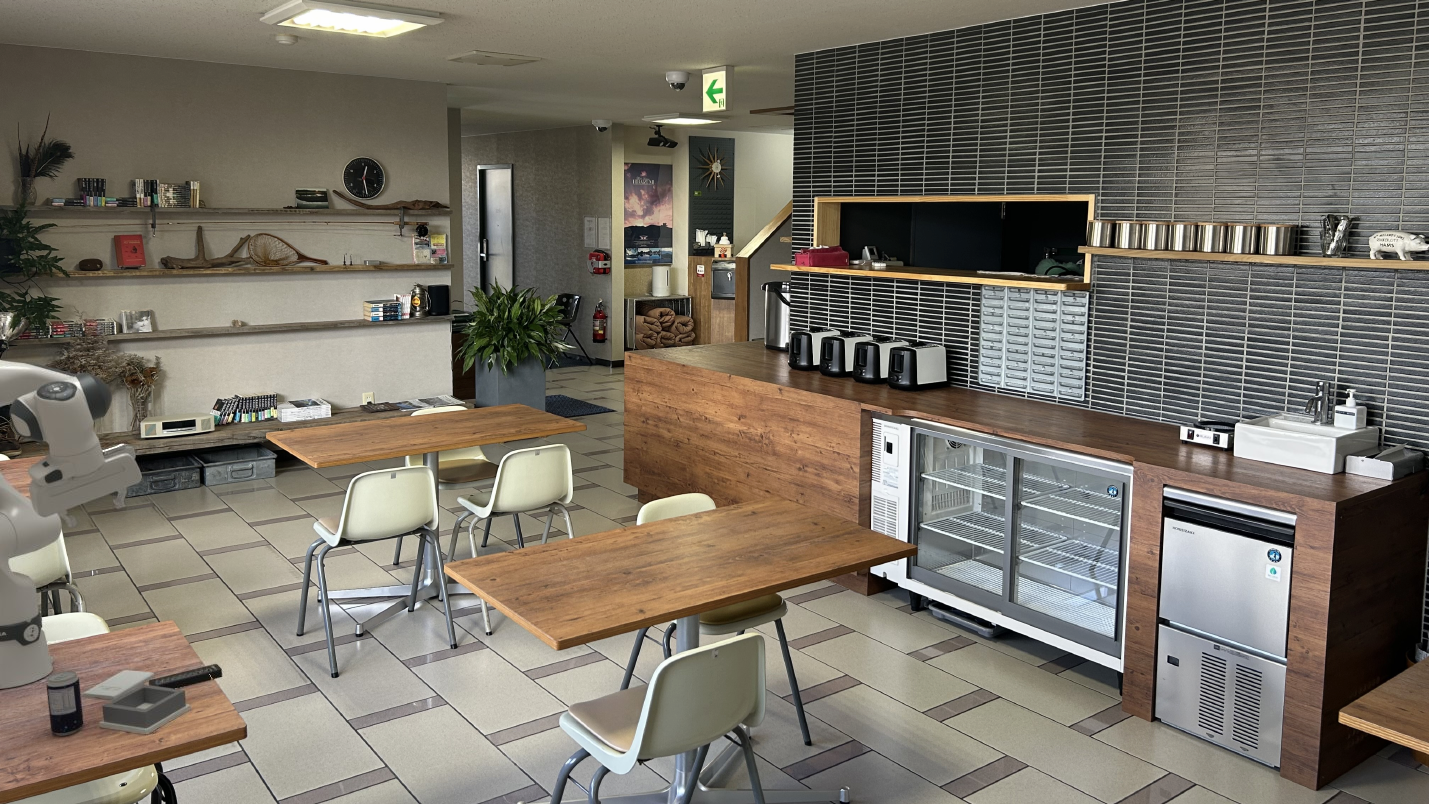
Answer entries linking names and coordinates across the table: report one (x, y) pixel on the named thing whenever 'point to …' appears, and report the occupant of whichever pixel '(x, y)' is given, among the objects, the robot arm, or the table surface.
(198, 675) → the multiport hub
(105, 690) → the external hard drive
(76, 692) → the beverage can
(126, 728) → the square holder
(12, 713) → the table surface
